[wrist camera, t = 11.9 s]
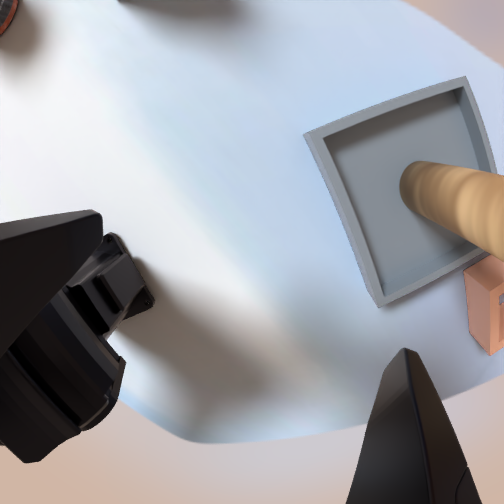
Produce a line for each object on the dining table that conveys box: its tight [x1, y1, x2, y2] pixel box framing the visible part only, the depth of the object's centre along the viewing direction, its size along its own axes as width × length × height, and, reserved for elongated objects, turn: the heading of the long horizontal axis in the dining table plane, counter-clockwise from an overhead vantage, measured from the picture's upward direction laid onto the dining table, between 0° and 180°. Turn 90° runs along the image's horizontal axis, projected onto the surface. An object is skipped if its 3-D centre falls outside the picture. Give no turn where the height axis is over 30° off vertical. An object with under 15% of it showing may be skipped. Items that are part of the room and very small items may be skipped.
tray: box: [303, 76, 497, 308], centre depth 17 cm, size 12×12×3 cm
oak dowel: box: [399, 161, 504, 262], centre depth 11 cm, size 4×4×14 cm
